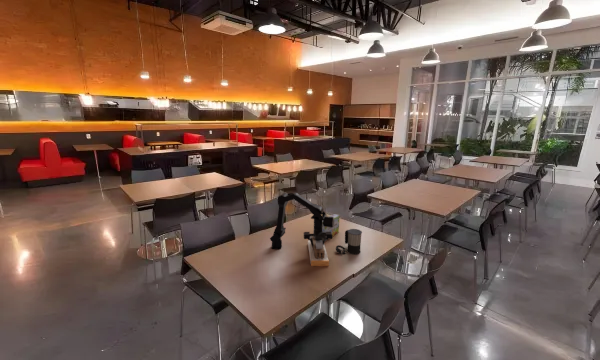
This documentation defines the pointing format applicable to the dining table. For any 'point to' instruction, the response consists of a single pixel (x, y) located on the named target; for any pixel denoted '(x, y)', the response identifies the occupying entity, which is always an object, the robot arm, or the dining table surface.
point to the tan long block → (318, 250)
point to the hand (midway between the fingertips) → (317, 247)
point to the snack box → (335, 228)
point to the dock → (317, 260)
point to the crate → (319, 244)
